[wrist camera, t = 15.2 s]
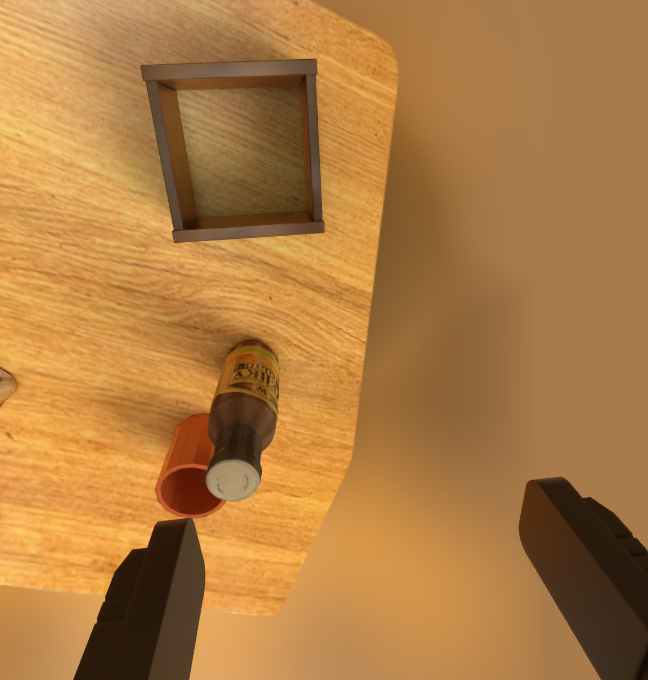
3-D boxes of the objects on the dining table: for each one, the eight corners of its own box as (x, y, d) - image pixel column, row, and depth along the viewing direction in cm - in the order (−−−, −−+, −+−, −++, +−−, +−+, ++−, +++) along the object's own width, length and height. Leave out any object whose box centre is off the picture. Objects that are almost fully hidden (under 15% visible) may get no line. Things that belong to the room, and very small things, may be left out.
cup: (230, 411, 52) (222, 460, 44) (238, 459, 55) (232, 513, 47) (168, 417, 51) (148, 468, 43) (180, 465, 54) (163, 522, 46)
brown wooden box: (309, 73, 38) (316, 58, 32) (317, 219, 44) (324, 232, 37) (163, 79, 37) (140, 65, 31) (189, 228, 43) (174, 243, 36)
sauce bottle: (289, 355, 50) (297, 474, 32) (259, 394, 51) (250, 528, 33) (242, 326, 48) (222, 436, 30) (212, 367, 49) (176, 495, 31)
